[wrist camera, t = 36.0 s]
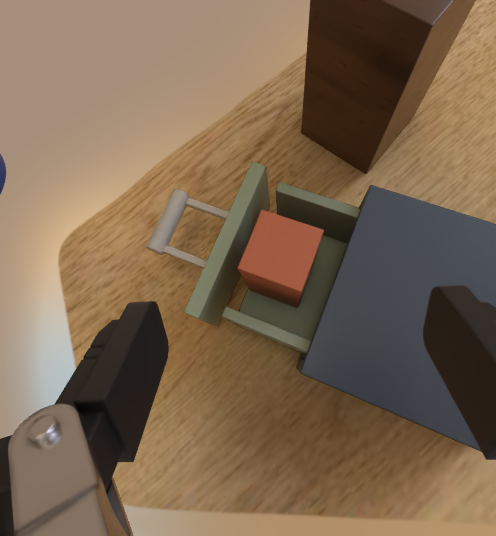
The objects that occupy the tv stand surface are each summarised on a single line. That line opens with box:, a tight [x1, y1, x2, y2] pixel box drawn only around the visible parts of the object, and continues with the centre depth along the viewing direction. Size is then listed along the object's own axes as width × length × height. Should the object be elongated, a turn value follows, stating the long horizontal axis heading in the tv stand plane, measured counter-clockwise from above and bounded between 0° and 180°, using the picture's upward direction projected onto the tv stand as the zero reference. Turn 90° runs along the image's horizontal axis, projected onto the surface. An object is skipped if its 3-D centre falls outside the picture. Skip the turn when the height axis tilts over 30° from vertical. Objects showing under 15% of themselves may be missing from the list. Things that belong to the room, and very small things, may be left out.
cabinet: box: [296, 185, 496, 452], centre depth 26 cm, size 15×14×9 cm
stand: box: [301, 0, 476, 174], centre depth 28 cm, size 8×8×16 cm
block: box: [238, 210, 324, 308], centre depth 27 cm, size 4×4×8 cm
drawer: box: [146, 162, 360, 354], centre depth 28 cm, size 19×12×7 cm, turn 67°
